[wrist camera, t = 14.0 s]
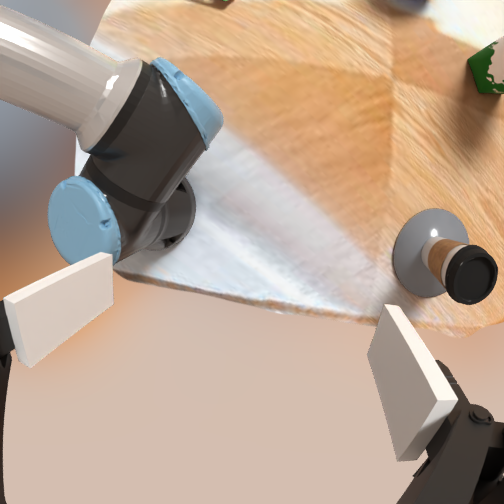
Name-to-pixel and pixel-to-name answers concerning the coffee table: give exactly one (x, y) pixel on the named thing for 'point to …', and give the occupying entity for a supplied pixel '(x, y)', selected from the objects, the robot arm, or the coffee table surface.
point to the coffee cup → (461, 269)
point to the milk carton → (489, 68)
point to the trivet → (412, 243)
